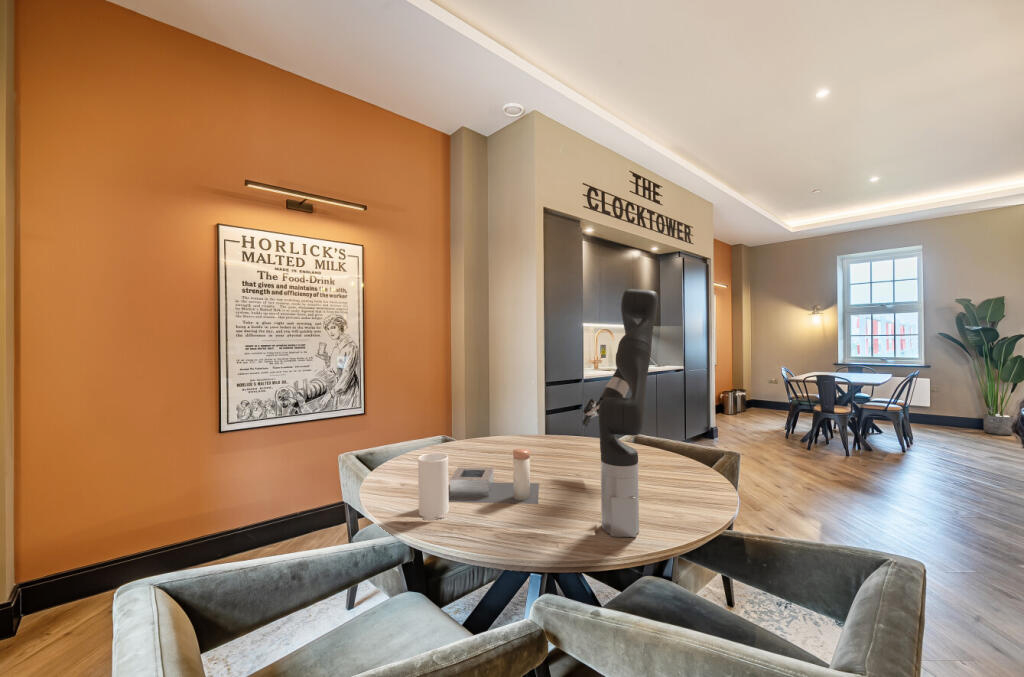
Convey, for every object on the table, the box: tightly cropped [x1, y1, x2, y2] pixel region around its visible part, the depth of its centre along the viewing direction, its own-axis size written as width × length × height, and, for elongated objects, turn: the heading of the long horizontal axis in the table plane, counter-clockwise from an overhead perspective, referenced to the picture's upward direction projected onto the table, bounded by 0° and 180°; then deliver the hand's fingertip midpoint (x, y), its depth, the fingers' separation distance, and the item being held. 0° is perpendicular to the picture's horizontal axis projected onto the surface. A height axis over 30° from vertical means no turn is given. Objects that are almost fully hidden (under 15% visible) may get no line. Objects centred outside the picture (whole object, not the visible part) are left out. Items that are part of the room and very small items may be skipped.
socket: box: [449, 466, 495, 497], centre depth 129 cm, size 12×12×5 cm
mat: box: [449, 481, 540, 505], centre depth 127 cm, size 17×28×1 cm, turn 86°
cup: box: [417, 452, 450, 521], centre depth 113 cm, size 8×8×16 cm
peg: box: [512, 448, 531, 501], centre depth 122 cm, size 5×5×14 cm
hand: (594, 430), depth 143 cm, fingers open, 8 cm apart
